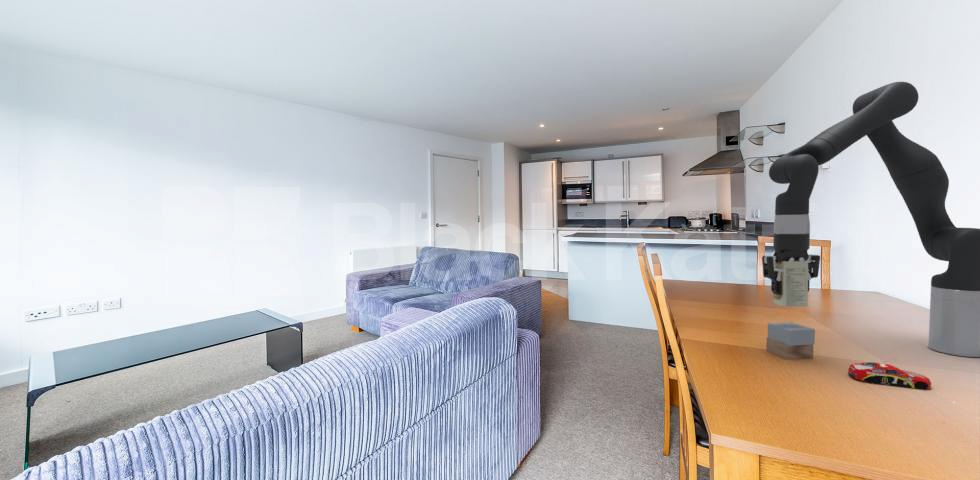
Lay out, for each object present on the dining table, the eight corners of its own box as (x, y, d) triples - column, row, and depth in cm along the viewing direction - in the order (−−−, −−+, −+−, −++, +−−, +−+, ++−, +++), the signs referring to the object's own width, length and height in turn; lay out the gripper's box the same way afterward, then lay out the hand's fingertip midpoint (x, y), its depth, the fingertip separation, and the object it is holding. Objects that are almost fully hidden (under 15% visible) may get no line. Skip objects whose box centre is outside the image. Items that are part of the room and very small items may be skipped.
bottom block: (791, 350, 105) (791, 336, 105) (812, 359, 98) (813, 344, 98) (766, 350, 105) (766, 336, 105) (786, 360, 98) (786, 345, 98)
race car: (922, 383, 84) (923, 365, 84) (937, 393, 79) (938, 375, 79) (844, 373, 90) (845, 357, 90) (854, 382, 85) (855, 365, 85)
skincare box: (796, 303, 103) (798, 259, 102) (808, 307, 99) (810, 261, 98) (771, 303, 104) (772, 259, 103) (782, 307, 99) (783, 261, 99)
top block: (790, 335, 105) (791, 321, 105) (814, 344, 98) (814, 329, 98) (767, 337, 105) (767, 323, 104) (789, 345, 98) (790, 330, 98)
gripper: (806, 230, 104) (804, 290, 105) (754, 232, 104) (753, 291, 105) (831, 231, 96) (829, 296, 97) (775, 233, 96) (773, 297, 97)
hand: (789, 293), depth 101 cm, fingers closed on skincare box, 6 cm apart
